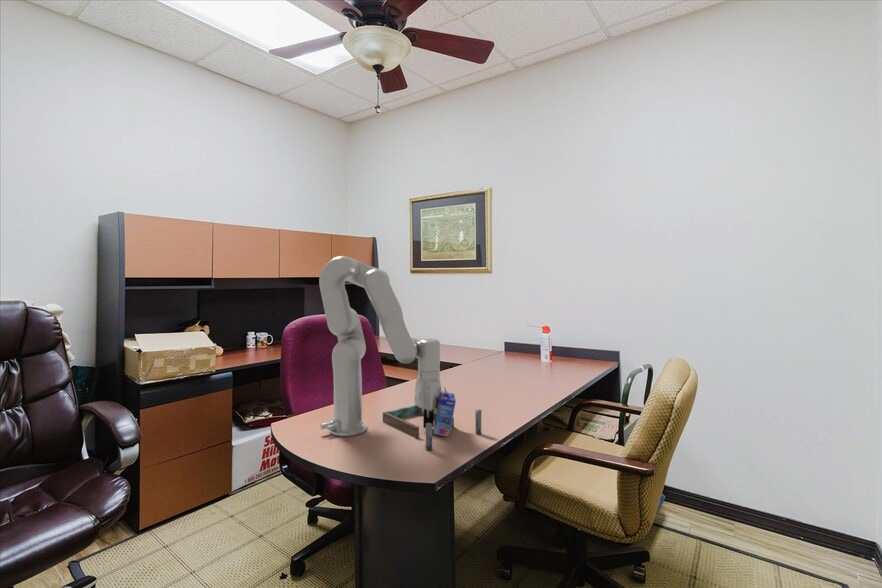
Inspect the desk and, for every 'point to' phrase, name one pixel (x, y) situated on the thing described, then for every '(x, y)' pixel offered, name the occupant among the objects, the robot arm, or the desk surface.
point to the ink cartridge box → (444, 414)
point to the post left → (428, 436)
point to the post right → (478, 422)
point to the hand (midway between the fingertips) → (428, 427)
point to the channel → (396, 420)
